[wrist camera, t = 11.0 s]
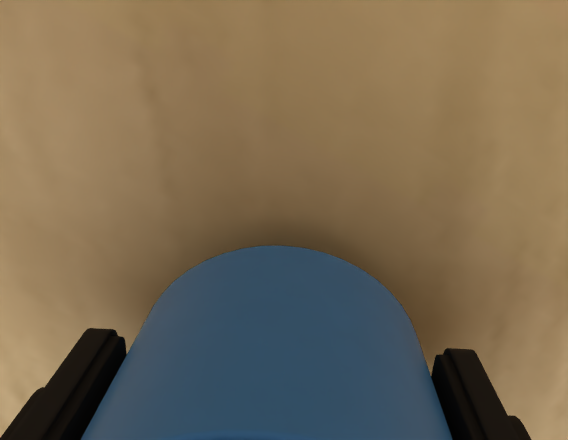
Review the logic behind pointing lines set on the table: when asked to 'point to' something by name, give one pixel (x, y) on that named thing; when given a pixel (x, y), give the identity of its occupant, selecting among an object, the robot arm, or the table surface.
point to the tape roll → (273, 357)
